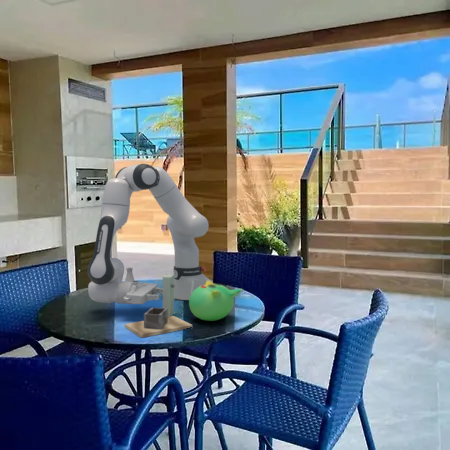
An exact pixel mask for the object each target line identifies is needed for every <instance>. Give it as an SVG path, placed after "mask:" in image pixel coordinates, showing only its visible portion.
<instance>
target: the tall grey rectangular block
mask: <svg viewBox="0 0 450 450" xmlns="http://www.w3.org/2000/svg"><path fill="white" fill-rule="evenodd" d="M174 287H175V285H174V273H173V274H169V273H168V274H167V273H166V274H165V275H164V276H162V289H163V294H162V308H168V317H169V316H172V315H173V314H174V315H175V299H174ZM174 315H173V316H174Z"/></svg>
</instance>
